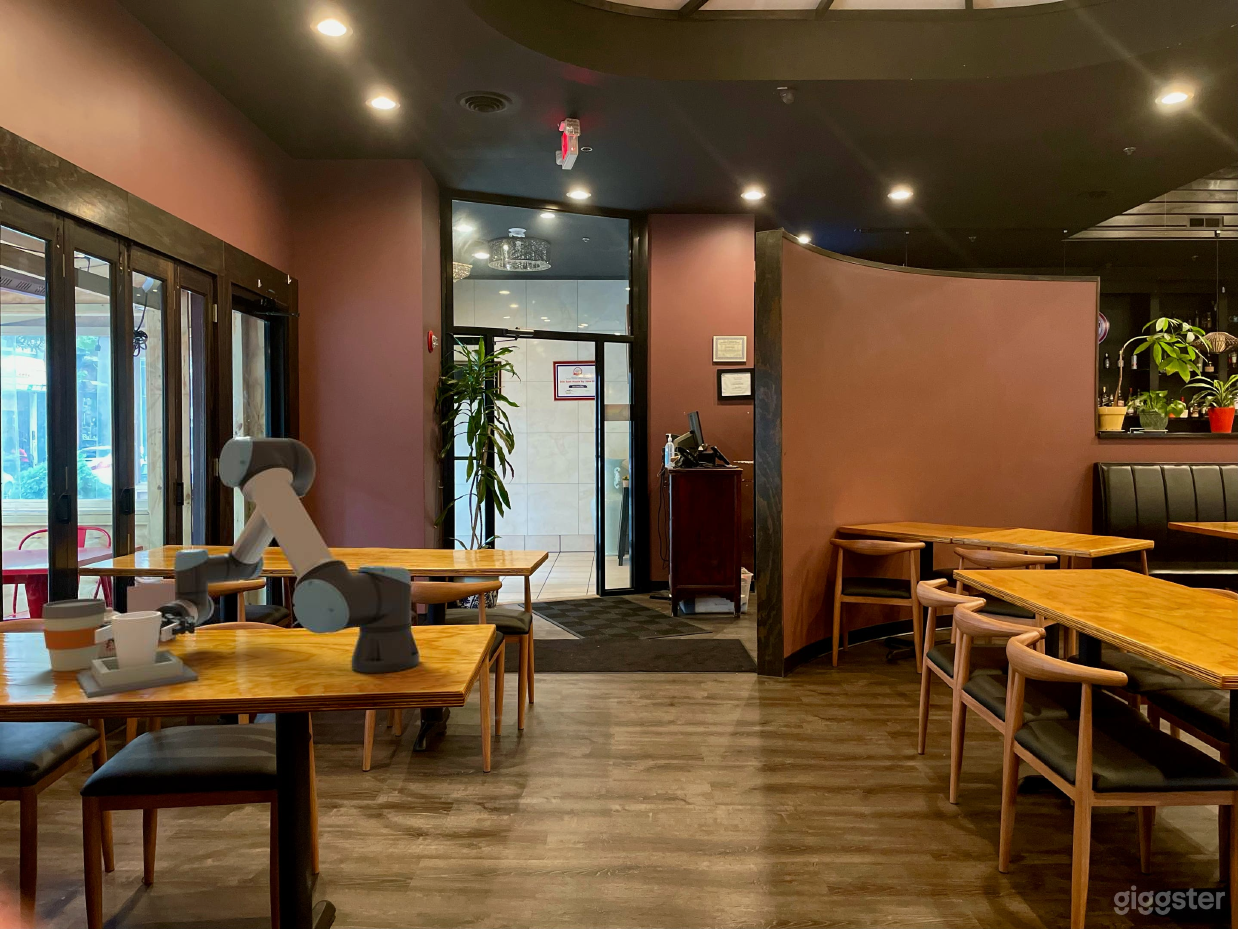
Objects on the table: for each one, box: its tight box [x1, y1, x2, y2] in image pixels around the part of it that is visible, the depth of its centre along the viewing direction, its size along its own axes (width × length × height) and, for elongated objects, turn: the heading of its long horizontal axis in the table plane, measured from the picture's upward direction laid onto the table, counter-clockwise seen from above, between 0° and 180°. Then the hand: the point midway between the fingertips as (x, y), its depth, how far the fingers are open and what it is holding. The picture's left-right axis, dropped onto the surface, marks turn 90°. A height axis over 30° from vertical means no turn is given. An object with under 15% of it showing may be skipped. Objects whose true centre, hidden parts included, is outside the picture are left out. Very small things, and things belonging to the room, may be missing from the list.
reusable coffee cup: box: [41, 598, 107, 672], centre depth 186 cm, size 13×12×15 cm
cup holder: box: [76, 649, 199, 698], centre depth 174 cm, size 20×20×4 cm
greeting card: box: [126, 582, 177, 641], centre depth 215 cm, size 11×7×15 cm, turn 82°
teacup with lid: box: [98, 607, 121, 659], centre depth 200 cm, size 12×9×12 cm
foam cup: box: [111, 611, 162, 669], centre depth 174 cm, size 10×9×13 cm
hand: (129, 636), depth 171 cm, fingers open, 13 cm apart
